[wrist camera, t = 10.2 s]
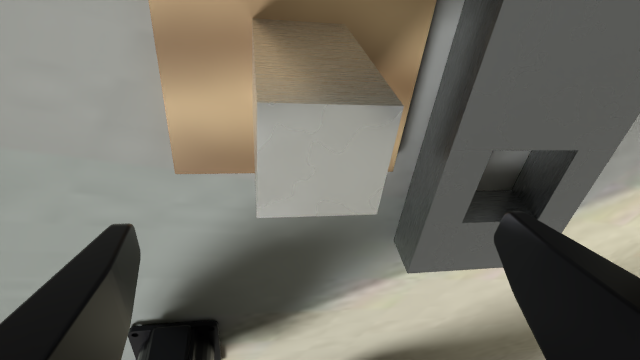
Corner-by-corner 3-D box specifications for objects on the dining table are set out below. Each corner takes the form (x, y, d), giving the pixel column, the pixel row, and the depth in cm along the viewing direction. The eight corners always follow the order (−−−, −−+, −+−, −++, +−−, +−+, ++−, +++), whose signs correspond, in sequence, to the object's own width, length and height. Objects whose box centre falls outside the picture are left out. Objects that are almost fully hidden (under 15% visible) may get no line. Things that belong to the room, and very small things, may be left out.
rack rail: (517, 234, 30) (540, 265, 27) (393, 240, 28) (407, 273, 25) (721, -131, 17) (799, -134, 14) (514, -165, 15) (564, -175, 12)
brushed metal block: (333, 107, 19) (376, 214, 13) (252, 105, 19) (256, 218, 12) (344, 24, 17) (403, 106, 11) (252, 18, 16) (256, 102, 10)
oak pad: (386, 159, 23) (392, 171, 22) (178, 161, 21) (175, 173, 20) (443, -77, 16) (455, -76, 15) (138, -112, 14) (131, -112, 13)
